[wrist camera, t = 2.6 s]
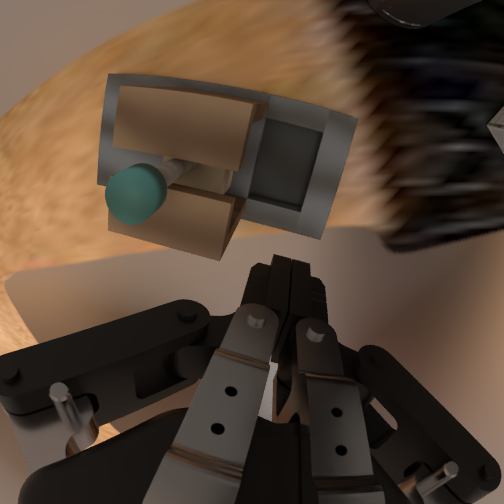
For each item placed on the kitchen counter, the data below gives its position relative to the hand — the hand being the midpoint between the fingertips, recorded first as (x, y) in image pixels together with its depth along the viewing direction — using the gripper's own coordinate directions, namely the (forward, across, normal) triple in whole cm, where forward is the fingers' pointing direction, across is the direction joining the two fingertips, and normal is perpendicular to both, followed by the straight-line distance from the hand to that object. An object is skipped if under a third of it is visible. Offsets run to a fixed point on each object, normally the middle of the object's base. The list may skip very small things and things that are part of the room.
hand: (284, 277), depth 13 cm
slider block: (+21, +9, 0) cm, 23 cm away
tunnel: (+24, +9, 0) cm, 26 cm away
